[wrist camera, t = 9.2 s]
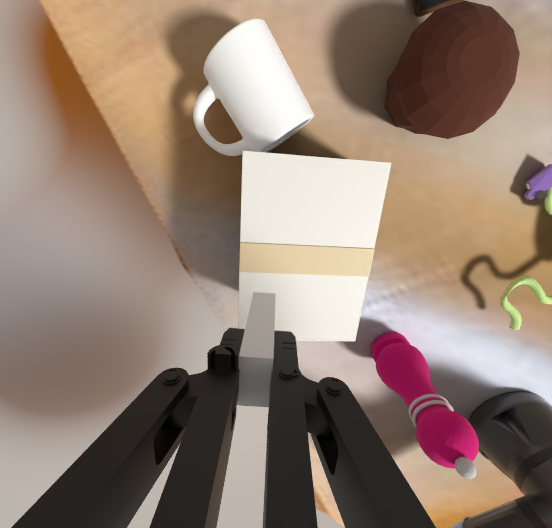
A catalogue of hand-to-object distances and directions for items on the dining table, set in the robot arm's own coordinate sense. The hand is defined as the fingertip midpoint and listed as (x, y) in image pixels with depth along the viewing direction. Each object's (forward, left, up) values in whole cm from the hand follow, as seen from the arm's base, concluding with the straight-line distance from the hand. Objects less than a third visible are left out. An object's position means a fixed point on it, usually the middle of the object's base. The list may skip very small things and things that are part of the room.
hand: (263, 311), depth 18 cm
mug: (+15, +4, -22) cm, 27 cm away
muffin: (+19, -17, -22) cm, 34 cm away
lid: (0, -4, -12) cm, 13 cm away
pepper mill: (-18, -21, -22) cm, 35 cm away
